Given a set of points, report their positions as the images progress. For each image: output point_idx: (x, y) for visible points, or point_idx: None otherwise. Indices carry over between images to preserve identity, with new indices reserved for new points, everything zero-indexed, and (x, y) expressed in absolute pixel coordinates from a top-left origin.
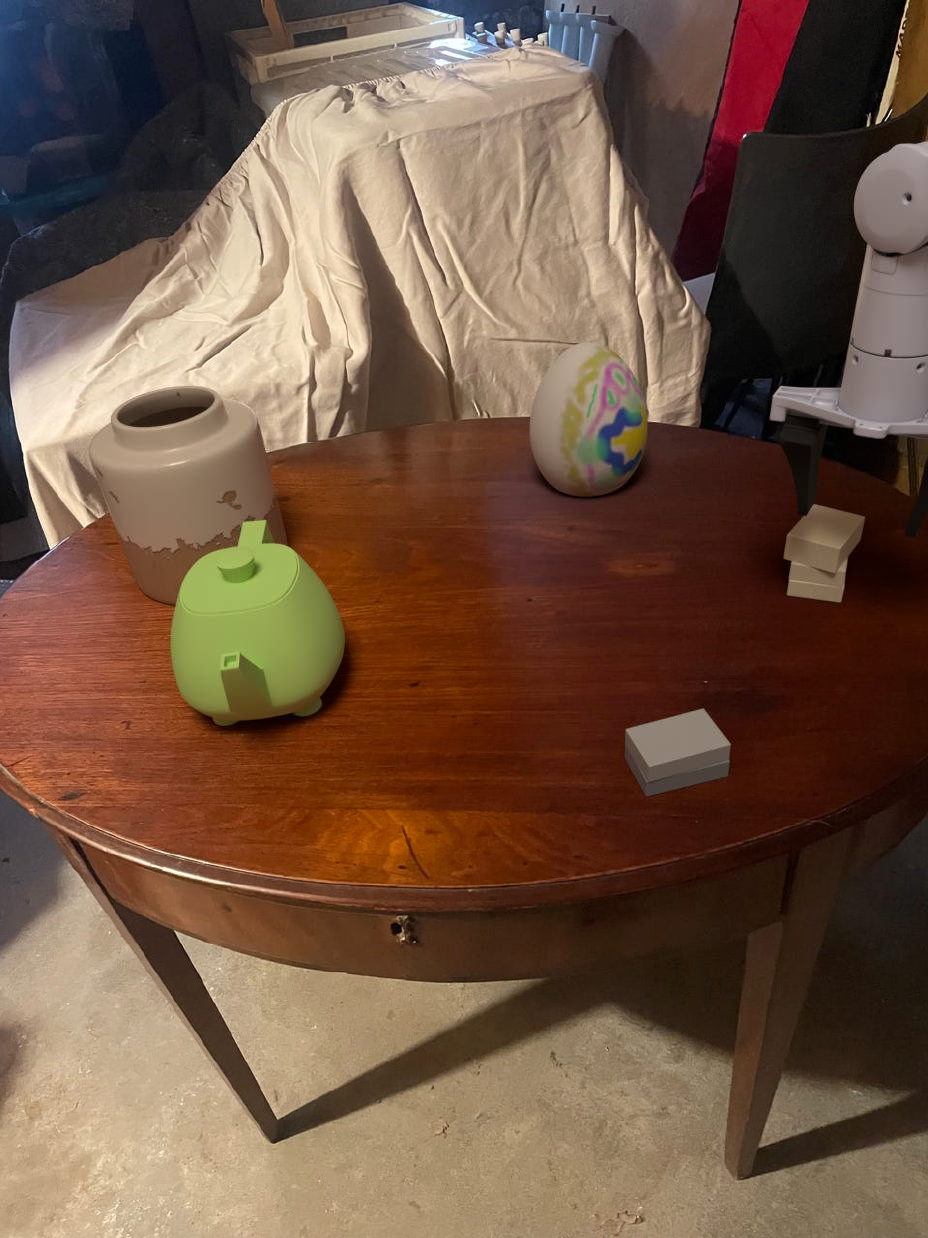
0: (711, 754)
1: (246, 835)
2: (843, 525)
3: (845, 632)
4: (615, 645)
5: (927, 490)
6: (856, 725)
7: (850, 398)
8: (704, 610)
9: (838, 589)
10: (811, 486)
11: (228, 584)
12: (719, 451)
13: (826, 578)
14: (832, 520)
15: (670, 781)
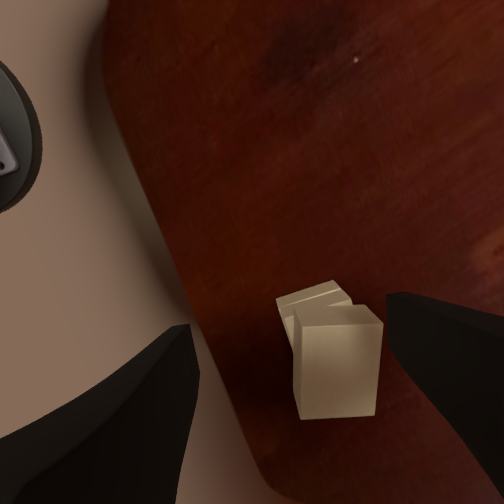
0: None
1: None
2: (319, 385)
3: (250, 250)
4: (486, 62)
5: (105, 398)
6: (173, 88)
7: None
8: (408, 199)
9: (283, 304)
10: (430, 344)
11: None
12: (499, 498)
13: (301, 305)
14: (337, 389)
15: None
